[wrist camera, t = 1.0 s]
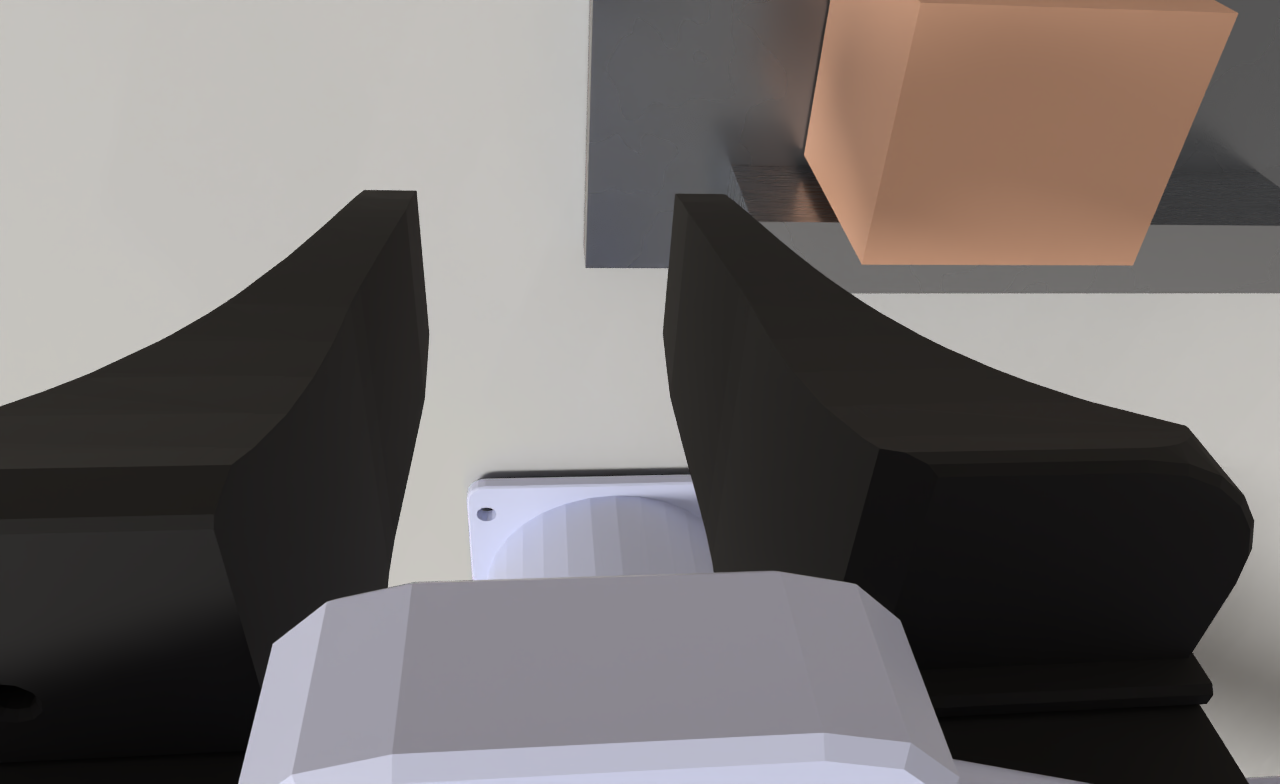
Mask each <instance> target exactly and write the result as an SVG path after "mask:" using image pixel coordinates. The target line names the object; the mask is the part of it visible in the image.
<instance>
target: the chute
mask: <svg viewBox="0 0 1280 784" xmlns="http://www.w3.org/2000/svg"><path fill="white" fill-rule="evenodd" d="M1215 1H1217V2H1219V3H1221V4H1223V5H1224V6H1226V7H1228V8H1230V9H1232V10H1234V11H1235V12H1237V13H1238V16H1237V18H1236V21H1235V23H1234V25H1233V28H1232V30H1231V32H1230V35H1229V37H1228V40H1227V42H1226V44H1225V47H1224V49H1223V52H1222V54H1221V56H1220V59H1219V61H1218V64H1217V66H1216V68H1215V71H1214V73H1213V75H1212V78H1211V80H1210V83H1209V85H1208V87H1207V90H1206V92H1205V95H1204V97H1203V99H1202V102H1201V104H1200V107H1199V109H1198V111H1197V114H1196V116H1195V118H1194V121H1193V123H1192V126H1191V128H1190V130H1189V133H1188V135H1187V138H1186V140H1185V142H1184V145H1183V147H1182V150H1181V152H1180V154H1179V157H1178V159H1177V161H1176V164H1175V166H1174V169H1173V171H1172V173H1171V176H1170V178H1169V181H1168V183H1167V185H1166V188H1165V190H1164V193H1163V195H1162V197H1161V200H1160V202H1159V204H1158V207H1157V209H1156V212H1155V214H1154V216H1153V219H1152V221H1151V224H1150V226H1149V228H1148V231H1147V233H1146V235H1145V238H1144V240H1143V243H1142V245H1141V247H1140V250H1139V252H1138V255H1137V257H1136V259H1135V262H1134V264H1133V265H862V264H861V262H860V260H859V258H858V256H857V254H856V252H855V251H854V249H853V247H852V245H851V243H850V241H849V239H848V237H847V235H846V233H845V232H844V230H843V228H842V226H841V224H840V222H839V220H838V218H837V216H836V215H835V213H834V211H833V209H832V207H831V205H830V203H829V201H828V199H827V197H826V196H825V194H824V192H823V190H822V188H821V186H820V184H819V182H818V180H817V179H816V177H815V175H814V173H813V171H812V169H811V167H810V165H809V163H808V161H807V160H806V158H805V156H804V152H805V146H806V140H807V134H808V128H809V123H810V117H811V111H812V105H813V99H814V93H815V87H816V81H817V75H818V70H819V64H820V58H821V52H822V46H823V40H824V34H825V28H826V22H827V17H828V11H829V5H830V0H590V11H589V51H588V90H587V130H586V169H585V209H584V255H585V266H586V268H669V257H670V245H671V234H672V222H673V211H674V199H675V194H725V195H727V196H728V197H729V198H731V199H732V200H733V201H735V202H736V203H737V204H738V205H740V206H741V207H742V208H743V209H744V210H745V211H747V212H748V213H749V214H750V215H751V216H752V217H754V218H755V219H756V220H757V221H758V222H759V223H761V224H762V225H763V226H764V227H765V228H766V229H768V230H769V231H770V232H771V233H772V234H773V235H775V236H776V237H777V238H778V239H779V240H780V241H782V242H783V243H784V244H785V245H786V246H788V247H789V248H790V249H791V250H793V251H794V252H795V253H796V254H798V255H799V256H800V257H801V258H803V259H804V260H805V261H806V262H808V263H809V264H810V265H811V266H813V267H814V268H815V269H817V270H818V271H819V272H821V273H822V274H823V275H825V276H826V277H827V278H829V279H830V280H832V281H833V282H835V283H836V284H837V285H839V286H840V287H842V288H843V289H845V290H846V291H848V292H849V293H1280V0H1215Z"/></svg>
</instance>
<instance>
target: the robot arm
mask: <svg viewBox="0 0 1280 784" xmlns="http://www.w3.org/2000/svg"><path fill="white" fill-rule="evenodd" d="M663 338H664V348H665V357H666V366H667V374H668V382H669V391H670V398H671V402H672V406H673V410H674V414H675V417H676V421H677V425H678V429H679V433H680V437H681V441H682V444H683V448H684V452H685V456H686V460H687V463H688V467H689V471H690V475H641V476H592V477H543V478H494V479H480V480H477V481H475V482H473V483H472V484H471V485H470V486H469V488H468V493H467V507H468V522H469V536H470V551H471V565H472V579H473V580H463V581H431V582H413V583H408V584H403V585H399V586H394V587H389V588H388V579H389V570H390V564H391V558H392V552H393V546H394V540H395V535H396V530H397V526H398V521H399V517H400V512H401V507H402V503H403V498H404V494H405V489H406V484H407V480H408V475H409V471H410V466H411V462H412V457H413V452H414V448H415V443H416V438H417V434H418V429H419V424H420V419H421V415H422V410H423V405H424V400H425V388H426V375H427V361H428V346H429V326H428V314H427V303H426V292H425V281H424V270H423V258H422V247H421V236H420V225H419V214H418V202H417V191H393V190H364V191H362V192H361V193H360V194H359V195H357V196H356V197H355V198H354V199H353V200H352V201H350V202H349V203H348V204H347V205H346V206H345V207H344V208H343V209H342V210H341V211H339V212H338V213H337V214H336V215H335V216H334V217H333V218H332V219H331V220H330V221H328V222H327V223H326V224H325V225H324V226H323V227H322V228H321V229H319V230H318V231H317V232H316V233H315V234H314V235H312V236H311V237H310V238H309V239H308V240H307V241H306V242H304V243H303V244H302V245H301V246H300V247H299V248H297V249H296V250H295V251H294V252H293V253H292V254H290V255H289V256H288V257H287V258H285V259H284V260H283V261H281V262H280V263H279V264H277V265H276V266H275V267H273V268H272V269H271V270H269V271H268V272H267V273H265V274H264V275H263V276H261V277H260V278H259V279H257V280H256V281H255V282H253V283H252V284H251V285H249V286H248V287H247V288H245V289H244V290H243V291H241V292H240V293H239V294H237V295H236V296H234V297H233V298H231V299H230V300H228V301H227V302H226V303H224V304H222V305H221V306H219V307H218V308H216V309H215V310H213V311H211V312H210V313H208V314H207V315H205V316H203V317H201V318H200V319H198V320H196V321H194V322H193V323H191V324H189V325H188V326H186V327H184V328H182V329H181V330H179V331H177V332H175V333H174V334H172V335H170V336H168V337H166V338H164V339H162V340H160V341H159V342H156V343H154V344H152V345H150V346H148V347H146V348H143V349H141V350H139V351H137V352H135V353H133V354H131V355H128V356H126V357H124V358H122V359H120V360H118V361H116V362H113V363H111V364H109V365H107V366H105V367H103V368H101V369H98V370H96V371H94V372H92V373H90V374H87V375H85V376H82V377H80V378H77V379H75V380H72V381H70V382H67V383H64V384H62V385H59V386H57V387H54V388H51V389H49V390H46V391H44V392H41V393H38V394H35V395H32V396H29V397H26V398H23V399H21V400H18V401H15V402H12V403H9V404H6V405H3V406H0V784H1280V776H1271V777H1254V778H1245V777H1244V775H1243V773H1242V772H1241V770H1240V769H1239V767H1238V765H1237V764H1236V762H1235V761H1234V759H1233V757H1232V756H1231V754H1230V753H1229V751H1228V749H1227V748H1226V746H1225V745H1224V743H1223V741H1222V740H1221V738H1220V737H1219V735H1218V733H1217V732H1216V730H1215V729H1214V727H1213V725H1212V724H1211V722H1210V721H1209V719H1208V717H1207V716H1206V714H1205V713H1204V711H1203V709H1202V708H1201V706H1200V705H1199V704H1207V703H1208V701H1209V700H1210V699H1211V697H1212V696H1213V688H1212V682H1211V681H1210V679H1209V678H1208V676H1207V675H1206V673H1205V672H1204V670H1203V669H1202V667H1201V666H1200V664H1199V662H1198V661H1197V659H1196V658H1195V656H1194V655H1193V653H1192V652H1193V650H1194V649H1195V647H1196V646H1197V644H1198V642H1199V641H1200V639H1201V638H1202V636H1203V635H1204V633H1205V631H1206V630H1207V628H1208V627H1209V625H1210V624H1211V622H1212V621H1213V619H1214V617H1215V616H1216V614H1217V613H1218V611H1219V610H1220V608H1221V606H1222V605H1223V603H1224V602H1225V600H1226V599H1227V597H1228V595H1229V594H1230V592H1231V591H1232V589H1233V588H1234V586H1235V584H1236V583H1237V580H1238V578H1239V576H1240V574H1241V572H1242V569H1243V567H1244V565H1245V563H1246V561H1247V559H1248V556H1249V554H1250V552H1251V550H1252V542H1253V529H1254V519H1253V517H1252V514H1251V511H1250V509H1249V506H1248V504H1247V501H1246V499H1245V496H1244V495H1243V494H1242V492H1241V491H1240V490H1239V489H1238V488H1237V486H1236V485H1235V484H1234V483H1233V481H1232V480H1231V479H1230V478H1229V477H1228V475H1227V474H1226V473H1225V472H1224V471H1223V469H1222V468H1221V467H1220V466H1219V464H1218V463H1217V462H1216V461H1215V460H1214V458H1213V457H1212V456H1211V455H1210V454H1209V452H1208V451H1207V450H1206V449H1205V447H1204V446H1203V445H1202V444H1201V443H1200V441H1199V440H1198V439H1197V438H1196V437H1195V435H1194V434H1193V433H1192V432H1191V431H1190V429H1189V428H1188V427H1187V426H1184V425H1180V424H1176V423H1172V422H1168V421H1164V420H1160V419H1156V418H1153V417H1149V416H1145V415H1141V414H1137V413H1133V412H1129V411H1125V410H1121V409H1117V408H1113V407H1109V406H1105V405H1101V404H1097V403H1093V402H1090V401H1086V400H1083V399H1079V398H1076V397H1073V396H1070V395H1067V394H1064V393H1061V392H1058V391H1055V390H1052V389H1049V388H1046V387H1043V386H1040V385H1037V384H1034V383H1031V382H1028V381H1025V380H1023V379H1020V378H1017V377H1015V376H1012V375H1009V374H1007V373H1004V372H1001V371H999V370H996V369H994V368H991V367H989V366H986V365H984V364H982V363H980V362H977V361H975V360H973V359H970V358H968V357H966V356H964V355H961V354H959V353H957V352H954V351H952V350H950V349H948V348H945V347H943V346H941V345H939V344H937V343H935V342H933V341H931V340H929V339H927V338H925V337H923V336H921V335H919V334H917V333H915V332H914V331H912V330H910V329H908V328H907V327H905V326H903V325H901V324H899V323H898V322H896V321H894V320H892V319H890V318H889V317H887V316H885V315H883V314H882V313H880V312H878V311H877V310H875V309H873V308H872V307H870V306H869V305H867V304H865V303H864V302H862V301H861V300H859V299H858V298H856V297H855V296H853V295H852V294H850V293H849V292H848V291H846V290H845V289H843V288H842V287H840V286H839V285H837V284H836V283H835V282H833V281H832V280H830V279H829V278H827V277H826V276H825V275H823V274H822V273H821V272H819V271H818V270H817V269H815V268H814V267H813V266H811V265H810V264H809V263H808V262H806V261H805V260H804V259H803V258H801V257H800V256H799V255H798V254H796V253H795V252H794V251H793V250H791V249H790V248H789V247H788V246H786V245H785V244H784V243H783V242H782V241H780V240H779V239H778V238H777V237H776V236H775V235H773V234H772V233H771V232H770V231H769V230H768V229H766V228H765V227H764V226H763V225H762V224H761V223H759V222H758V221H757V220H756V219H755V218H754V217H752V216H751V215H750V214H749V213H748V212H747V211H745V210H744V209H743V208H742V207H741V206H740V205H738V204H737V203H736V202H735V201H733V200H732V199H731V198H729V197H728V196H727V195H725V194H675V199H674V211H673V222H672V234H671V245H670V257H669V269H668V280H667V292H666V303H665V315H664V326H663ZM485 507H487V508H492V509H493V510H490V511H483V510H481V508H485Z"/></svg>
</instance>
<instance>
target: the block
mask: <svg viewBox="0 0 1280 784" xmlns="http://www.w3.org/2000/svg"><path fill="white" fill-rule="evenodd" d="M1237 16H1238V13H1237V12H1235V11H1234V10H1232V9H1230V8H1228V7H1226V6H1224V5H1223V4H1221V3H1219V2H1217V1H1215V0H830V5H829V11H828V17H827V22H826V28H825V34H824V40H823V46H822V52H821V58H820V64H819V70H818V75H817V81H816V87H815V93H814V99H813V105H812V111H811V117H810V123H809V128H808V134H807V140H806V146H805V152H804V156H805V158H806V160H807V161H808V163H809V165H810V167H811V169H812V171H813V173H814V175H815V177H816V179H817V180H818V182H819V184H820V186H821V188H822V190H823V192H824V194H825V196H826V197H827V199H828V201H829V203H830V205H831V207H832V209H833V211H834V213H835V215H836V216H837V218H838V220H839V222H840V224H841V226H842V228H843V230H844V232H845V233H846V235H847V237H848V239H849V241H850V243H851V245H852V247H853V249H854V251H855V252H856V254H857V256H858V258H859V260H860V262H861V264H862V265H1133V264H1134V262H1135V259H1136V257H1137V255H1138V252H1139V250H1140V247H1141V245H1142V243H1143V240H1144V238H1145V235H1146V233H1147V231H1148V228H1149V226H1150V224H1151V221H1152V219H1153V216H1154V214H1155V212H1156V209H1157V207H1158V204H1159V202H1160V200H1161V197H1162V195H1163V193H1164V190H1165V188H1166V185H1167V183H1168V181H1169V178H1170V176H1171V173H1172V171H1173V169H1174V166H1175V164H1176V161H1177V159H1178V157H1179V154H1180V152H1181V150H1182V147H1183V145H1184V142H1185V140H1186V138H1187V135H1188V133H1189V130H1190V128H1191V126H1192V123H1193V121H1194V118H1195V116H1196V114H1197V111H1198V109H1199V107H1200V104H1201V102H1202V99H1203V97H1204V95H1205V92H1206V90H1207V87H1208V85H1209V83H1210V80H1211V78H1212V75H1213V73H1214V71H1215V68H1216V66H1217V64H1218V61H1219V59H1220V56H1221V54H1222V52H1223V49H1224V47H1225V44H1226V42H1227V40H1228V37H1229V35H1230V32H1231V30H1232V28H1233V25H1234V23H1235V21H1236V18H1237Z"/></svg>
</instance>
